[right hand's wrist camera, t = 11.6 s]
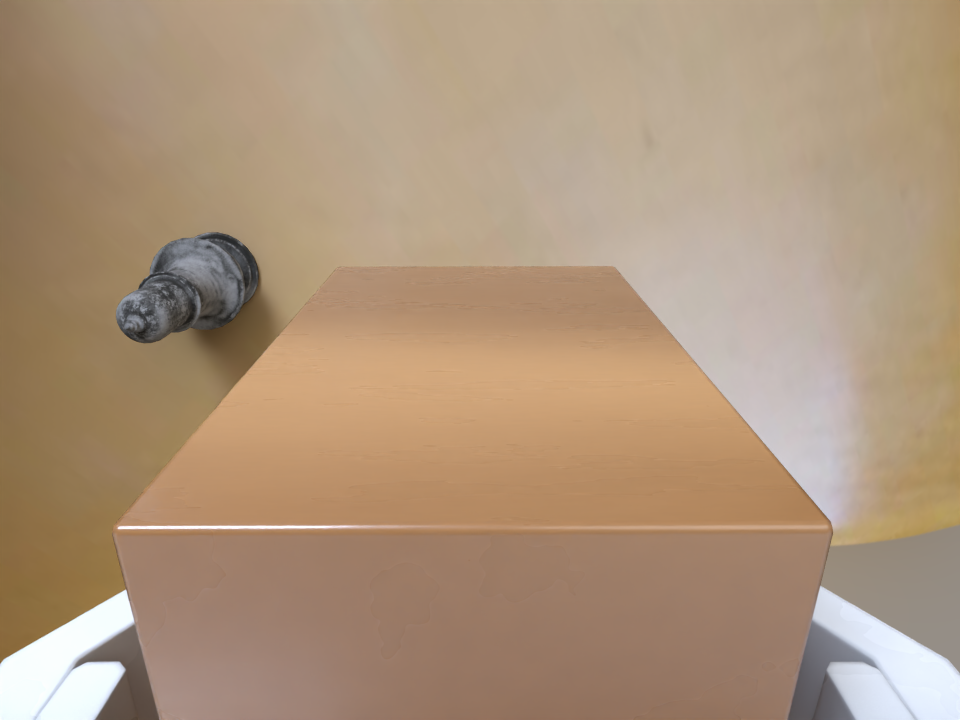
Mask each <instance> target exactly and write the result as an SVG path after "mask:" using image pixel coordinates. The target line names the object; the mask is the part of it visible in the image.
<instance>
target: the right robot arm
mask: <svg viewBox="0 0 960 720" xmlns="http://www.w3.org/2000/svg"><path fill="white" fill-rule="evenodd" d="M0 720H159V716H158V712H157V709H156V705H155V701H154V697H153V693H152V689H151V685H150V681H149V677H148V673H147V669H146V666H145V662H144V658H143V654H142V650H141V646H140V642H139V638H138V634H137V630H136V626H135V622H134V619H133V615H132V611H131V607H130V603H129V599H128V595H127V591H126V590H124V591H123V592H121V593H119V594H117V595H116V596H114V597H112V598H110V599H109V600H107V601H105V602H103V603H102V604H100V605H98V606H96V607H95V608H93V609H91V610H89V611H88V612H86V613H84V614H82V615H81V616H79V617H77V618H75V619H74V620H72V621H70V622H68V623H67V624H65V625H63V626H61V627H60V628H58V629H56V630H54V631H53V632H51V633H49V634H47V635H46V636H44V637H42V638H40V639H39V640H37V641H35V642H33V643H32V644H30V645H28V646H26V647H25V648H23V649H21V650H19V651H18V652H16V653H14V654H12V655H11V656H9V657H7V658H5V659H4V660H3V661H2V663H1V664H0ZM788 720H960V673H959V672H958V671H957V670H956V669H955V667H954V666H953V665H952V664H951V663H950V661H949V660H948V659H946V658H944V657H942V656H941V655H939V654H937V653H935V652H934V651H932V650H930V649H928V648H927V647H925V646H923V645H922V644H920V643H918V642H916V641H915V640H913V639H911V638H910V637H908V636H906V635H904V634H903V633H901V632H899V631H897V630H896V629H894V628H892V627H891V626H889V625H887V624H885V623H884V622H882V621H880V620H878V619H877V618H875V617H873V616H872V615H870V614H868V613H866V612H865V611H863V610H861V609H860V608H858V607H856V606H854V605H853V604H851V603H849V602H847V601H846V600H844V599H842V598H841V597H839V596H837V595H835V594H834V593H832V592H830V591H828V590H827V589H825V588H823V587H822V586H820V589H819V593H818V597H817V601H816V605H815V609H814V614H813V618H812V622H811V626H810V630H809V634H808V638H807V642H806V647H805V651H804V655H803V659H802V663H801V667H800V671H799V675H798V680H797V684H796V688H795V692H794V696H793V700H792V704H791V709H790V713H789V717H788Z"/></svg>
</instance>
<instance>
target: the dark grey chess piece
mask: <svg viewBox="0 0 960 720" xmlns="http://www.w3.org/2000/svg"><path fill="white" fill-rule="evenodd" d="M258 277H259V275H258V268H257V264H256V262H255V260H254V257H253V255H252V254H251V253H250V251H249V250H248V249H247V247H246V246H244V245H243V244H242V243H241V242H240V241H239V240H237V239H235V238H233V237H231V236H229V235H226V234H222V233H218V232H217V233H205V234H201V235H198V236H196V237H195V238H182V239H178V240H175V241H172V242H170V243H168V244H167V245H165V246H164V247H162V248H161V249H160V251H159V252H158V253H157V254H156V256H155V257H154V259H153V262H152V265H151V267H150V275H149V276H148V277H146V278H145V279H144V280H143V281H142V283H141V284H140V286H139V288H138V290H136V291H134V292H132V293H130V294H129V295H127V296H126V297H124V298H123V300H122V301H121V302H120V303H119V305H118V307H117V310H116V319H117V323H118V325H119V327H120V329H121V330H122V331H123V333H124V334H125V335H126V336H128V337H129V338H130V339H132V340H134V341H137V342H141V343H152V342H156V341H159V340H161V339H163V338H164V337H166V336H167V335H169V334H170V333H171V332H181V331H185V330H187V329H188V328H195V329H199V330H209V329H215V328H218V327H222V326H224V325H225V324H227V323H229V322H230V321H232V320H233V319H234V318H235V316H236V315H237V314H238V313H239V312H240V309H241V307H242V305H243V304H244V303H246V302H247V301H248V300H249V299H250V298H251V297H252V296H253V294H254V292H255V290H256V288H257V285H258Z"/></svg>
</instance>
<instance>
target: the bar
mask: <svg viewBox="0 0 960 720" xmlns="http://www.w3.org/2000/svg"><path fill="white" fill-rule="evenodd" d="M832 535H833V529H832V525H831V522H830V521H829V519H828V518H827V517H826V516H825V515H824V513H823V512H822V511H821V510H820V509H819V508H818V506H817V505H816V504H815V503H814V502H813V500H812V499H811V498H810V497H809V496H808V495H807V493H806V492H805V491H804V490H803V489H802V487H801V486H800V485H799V484H798V483H797V482H796V480H795V479H794V478H793V477H792V476H791V475H790V473H789V472H788V471H787V470H786V469H785V467H784V466H783V465H782V464H781V463H780V462H779V460H778V459H777V458H776V457H775V456H774V454H773V453H772V452H771V451H770V450H769V449H768V447H767V446H766V445H765V444H764V443H763V442H762V440H761V439H760V438H759V437H758V436H757V434H756V433H755V432H754V431H753V430H752V429H751V427H750V426H749V425H748V424H747V423H746V421H745V420H744V419H743V418H742V417H741V416H740V414H739V413H738V412H737V411H736V410H735V408H734V407H733V406H732V405H731V404H730V403H729V401H728V400H727V399H726V398H725V397H724V396H723V394H722V393H721V392H720V391H719V390H718V388H717V387H716V386H715V385H714V384H713V383H712V381H711V380H710V379H709V378H708V377H707V375H706V374H705V373H704V372H703V371H702V370H701V368H700V367H699V366H698V365H697V364H696V363H695V361H694V360H693V359H692V358H691V357H690V355H689V354H688V353H687V352H686V351H685V350H684V348H683V347H682V346H681V345H680V344H679V342H678V341H677V340H676V339H675V338H674V337H673V335H672V334H671V333H670V332H669V331H668V329H667V328H666V327H665V326H664V325H663V324H662V322H661V321H660V320H659V319H658V318H657V317H656V315H655V314H654V313H653V312H652V311H651V309H650V308H649V307H648V306H647V305H646V304H645V302H644V301H643V300H642V299H641V298H640V296H639V295H638V294H637V293H636V292H635V291H634V289H633V288H632V287H631V286H630V285H629V284H628V282H627V281H626V280H625V279H624V278H623V276H622V275H621V274H620V273H619V272H618V271H617V269H616V268H615V267H612V266H584V267H338V268H336V270H335V271H334V272H333V273H332V274H331V275H330V276H329V278H328V279H327V280H326V281H325V282H324V283H323V284H322V286H321V287H320V288H319V289H318V290H317V291H316V293H315V294H314V295H313V296H312V297H311V298H310V299H309V301H308V302H307V303H306V304H305V305H304V306H303V308H302V309H301V310H300V311H299V312H298V313H297V314H296V316H295V317H294V318H293V319H292V320H291V321H290V322H289V324H288V325H287V326H286V327H285V328H284V329H283V331H282V332H281V333H280V334H279V335H278V336H277V337H276V339H275V340H274V341H273V342H272V343H271V344H270V346H269V347H268V348H267V349H266V350H265V351H264V352H263V354H262V355H261V356H260V357H259V358H258V359H257V361H256V362H255V363H254V364H253V365H252V366H251V367H250V369H249V370H248V371H247V372H246V373H245V374H244V375H243V377H242V378H241V379H240V380H239V381H238V382H237V384H236V385H235V386H234V387H233V388H232V389H231V390H230V392H229V393H228V394H227V395H226V396H225V397H224V399H223V400H222V401H221V402H220V403H219V404H218V405H217V407H216V408H215V409H214V410H213V411H212V412H211V414H210V415H209V416H208V417H207V418H206V419H205V420H204V422H203V423H202V424H201V425H200V426H199V427H198V428H197V430H196V431H195V432H194V433H193V434H192V435H191V437H190V438H189V439H188V440H187V441H186V442H185V443H184V445H183V446H182V447H181V448H180V449H179V450H178V452H177V453H176V454H175V455H174V456H173V457H172V458H171V460H170V461H169V462H168V463H167V464H166V465H165V466H164V468H163V469H162V470H161V471H160V472H159V473H158V475H157V476H156V477H155V478H154V479H153V480H152V481H151V483H150V484H149V485H148V486H147V487H146V488H145V490H144V491H143V492H142V493H141V494H140V495H139V496H138V498H137V499H136V500H135V501H134V502H133V503H132V505H131V506H130V507H129V508H128V509H127V510H126V511H125V513H124V514H123V515H122V516H121V517H120V518H119V519H118V521H117V522H116V523H115V524H114V527H113V533H112V536H113V540H114V544H115V548H116V552H117V556H118V560H119V564H120V568H121V572H122V576H123V579H124V583H125V587H126V591H127V595H128V599H129V603H130V607H131V611H132V615H133V619H134V622H135V626H136V630H137V634H138V638H139V642H140V646H141V650H142V654H143V658H144V662H145V666H146V669H147V673H148V677H149V681H150V685H151V689H152V693H153V697H154V701H155V705H156V709H157V712H158V716H159V720H788V717H789V713H790V709H791V704H792V700H793V696H794V692H795V688H796V684H797V680H798V675H799V671H800V667H801V663H802V659H803V655H804V651H805V647H806V642H807V638H808V634H809V630H810V626H811V622H812V618H813V614H814V609H815V605H816V601H817V597H818V593H819V589H820V585H821V580H822V576H823V572H824V568H825V564H826V560H827V556H828V552H829V547H830V543H831V539H832Z"/></svg>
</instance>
